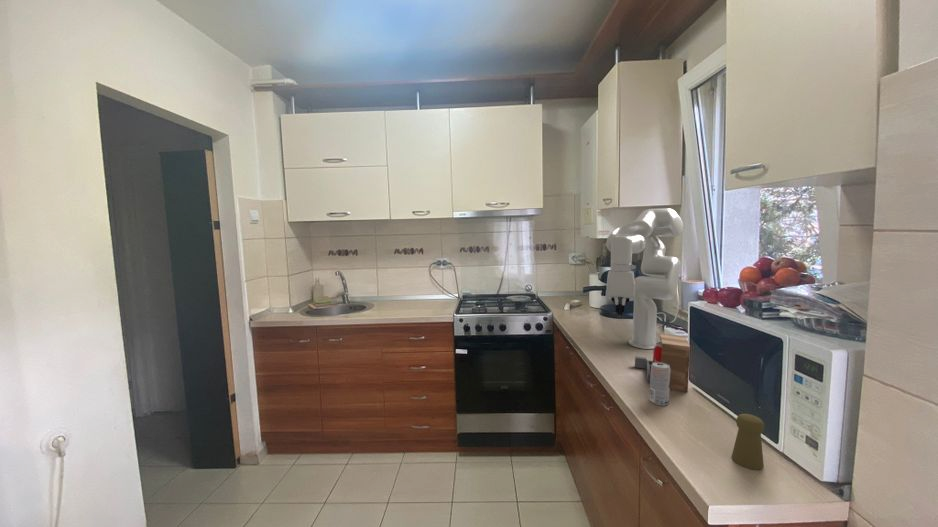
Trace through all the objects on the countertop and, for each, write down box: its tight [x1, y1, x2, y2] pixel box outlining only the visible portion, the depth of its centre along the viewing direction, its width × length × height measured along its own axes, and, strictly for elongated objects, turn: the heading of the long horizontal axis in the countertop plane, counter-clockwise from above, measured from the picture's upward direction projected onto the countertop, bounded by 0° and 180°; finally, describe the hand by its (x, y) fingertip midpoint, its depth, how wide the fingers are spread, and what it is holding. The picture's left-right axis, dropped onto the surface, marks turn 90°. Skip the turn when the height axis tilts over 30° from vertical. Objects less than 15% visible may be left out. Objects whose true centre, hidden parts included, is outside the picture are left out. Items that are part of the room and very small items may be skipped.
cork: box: [731, 413, 765, 471], centre depth 85 cm, size 6×6×11 cm
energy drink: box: [649, 362, 671, 407], centre depth 114 cm, size 5×5×12 cm
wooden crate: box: [659, 333, 691, 393], centre depth 127 cm, size 12×8×16 cm, turn 156°
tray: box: [634, 355, 653, 384], centre depth 133 cm, size 15×14×4 cm
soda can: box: [652, 341, 662, 362], centre depth 130 cm, size 7×7×12 cm
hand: (619, 314), depth 143 cm, fingers closed
